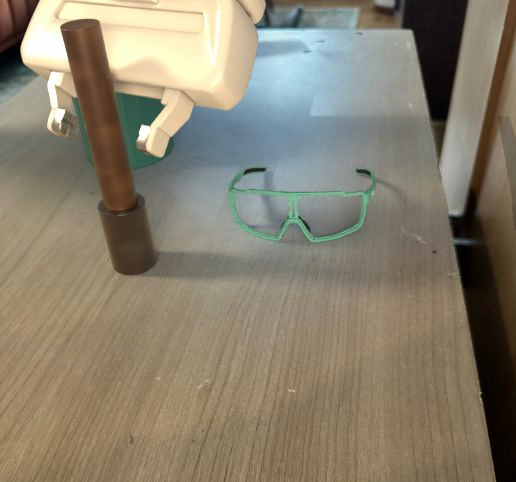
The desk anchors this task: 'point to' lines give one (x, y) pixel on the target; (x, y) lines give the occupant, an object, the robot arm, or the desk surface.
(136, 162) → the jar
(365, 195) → the sunglasses
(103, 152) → the brown wooden rod
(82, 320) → the desk surface
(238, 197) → the desk surface
